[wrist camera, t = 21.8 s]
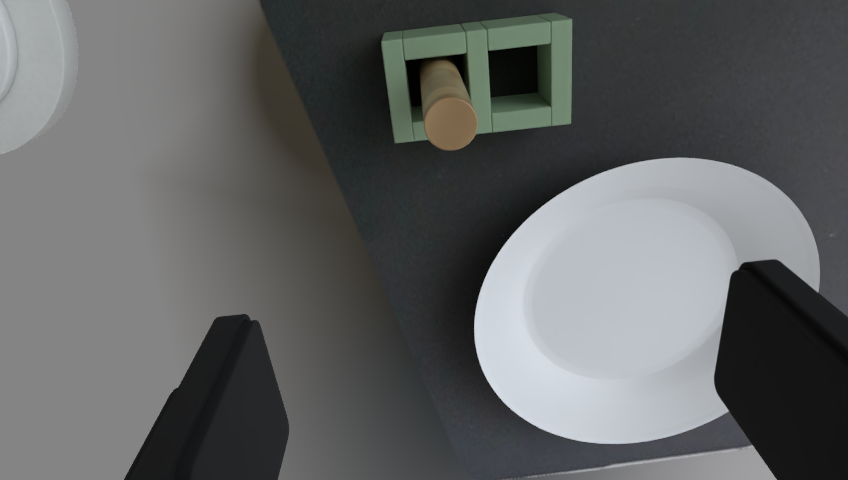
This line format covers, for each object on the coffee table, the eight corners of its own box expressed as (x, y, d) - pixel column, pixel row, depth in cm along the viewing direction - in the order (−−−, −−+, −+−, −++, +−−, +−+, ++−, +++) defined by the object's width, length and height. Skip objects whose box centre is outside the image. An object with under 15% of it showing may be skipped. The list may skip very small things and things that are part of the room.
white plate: (473, 421, 50) (478, 453, 47) (464, 154, 39) (469, 172, 36) (753, 402, 50) (777, 433, 47) (826, 128, 39) (863, 144, 35)
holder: (396, 126, 38) (394, 143, 34) (383, 32, 35) (380, 41, 32) (555, 107, 38) (571, 124, 34) (555, 12, 35) (572, 18, 31)
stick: (421, 91, 37) (427, 154, 25) (416, 53, 36) (420, 101, 24) (458, 86, 37) (480, 147, 25) (454, 48, 36) (475, 94, 24)
